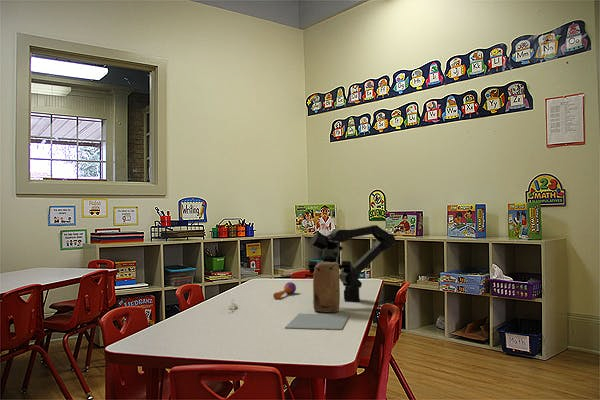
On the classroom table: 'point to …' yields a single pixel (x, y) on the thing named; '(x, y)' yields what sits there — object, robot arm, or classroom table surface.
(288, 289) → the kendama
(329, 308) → the block
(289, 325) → the mat
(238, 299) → the classroom table surface
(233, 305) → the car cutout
